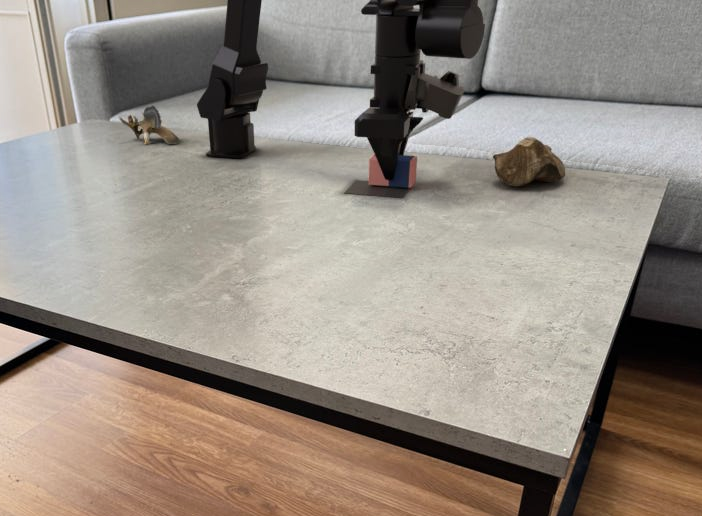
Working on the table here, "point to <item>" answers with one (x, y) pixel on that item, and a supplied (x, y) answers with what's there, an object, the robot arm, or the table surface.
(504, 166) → the fossilized seashell
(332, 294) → the table surface
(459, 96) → the robot arm
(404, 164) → the eraser
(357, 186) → the dark brown rectangular plate
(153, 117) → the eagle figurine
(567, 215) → the table surface
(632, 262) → the table surface
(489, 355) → the table surface
